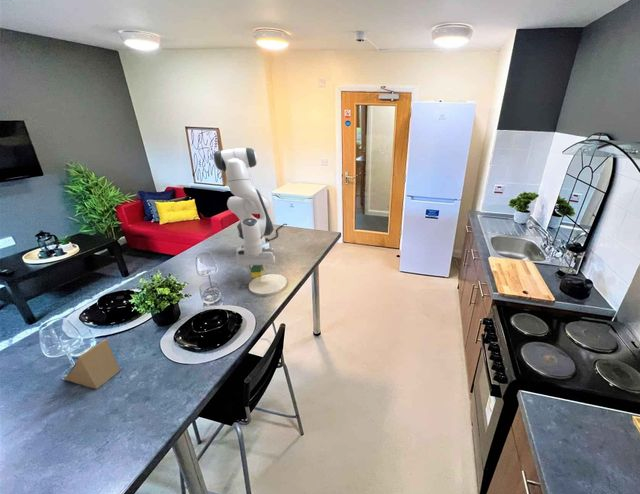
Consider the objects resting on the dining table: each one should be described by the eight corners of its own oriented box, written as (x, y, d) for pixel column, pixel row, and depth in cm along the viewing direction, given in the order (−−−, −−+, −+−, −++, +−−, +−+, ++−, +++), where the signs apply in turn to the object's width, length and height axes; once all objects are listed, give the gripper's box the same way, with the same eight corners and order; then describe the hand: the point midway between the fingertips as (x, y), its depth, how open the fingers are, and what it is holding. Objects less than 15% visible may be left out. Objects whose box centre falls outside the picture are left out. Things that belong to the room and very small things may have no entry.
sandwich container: (89, 360, 109) (74, 330, 103) (121, 369, 106) (107, 338, 100) (63, 379, 102) (44, 347, 95) (96, 389, 98) (79, 356, 92)
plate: (253, 277, 167) (253, 274, 166) (289, 275, 169) (288, 273, 169) (245, 297, 149) (244, 294, 148) (284, 295, 151) (284, 292, 151)
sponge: (255, 270, 163) (253, 263, 161) (264, 269, 164) (263, 262, 162) (251, 277, 156) (250, 270, 154) (261, 277, 157) (260, 270, 155)
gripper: (275, 245, 158) (277, 267, 164) (235, 246, 155) (240, 269, 161) (273, 250, 152) (276, 273, 158) (232, 252, 149) (237, 274, 155)
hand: (257, 271), depth 159 cm, fingers closed on sponge, 5 cm apart
